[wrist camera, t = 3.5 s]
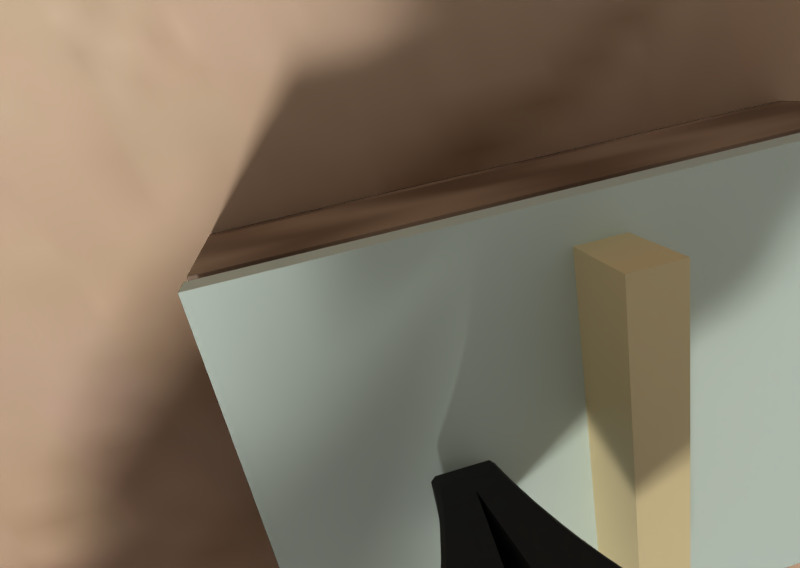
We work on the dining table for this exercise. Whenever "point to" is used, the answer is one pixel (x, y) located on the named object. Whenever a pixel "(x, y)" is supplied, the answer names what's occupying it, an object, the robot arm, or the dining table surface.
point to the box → (491, 188)
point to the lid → (532, 370)
